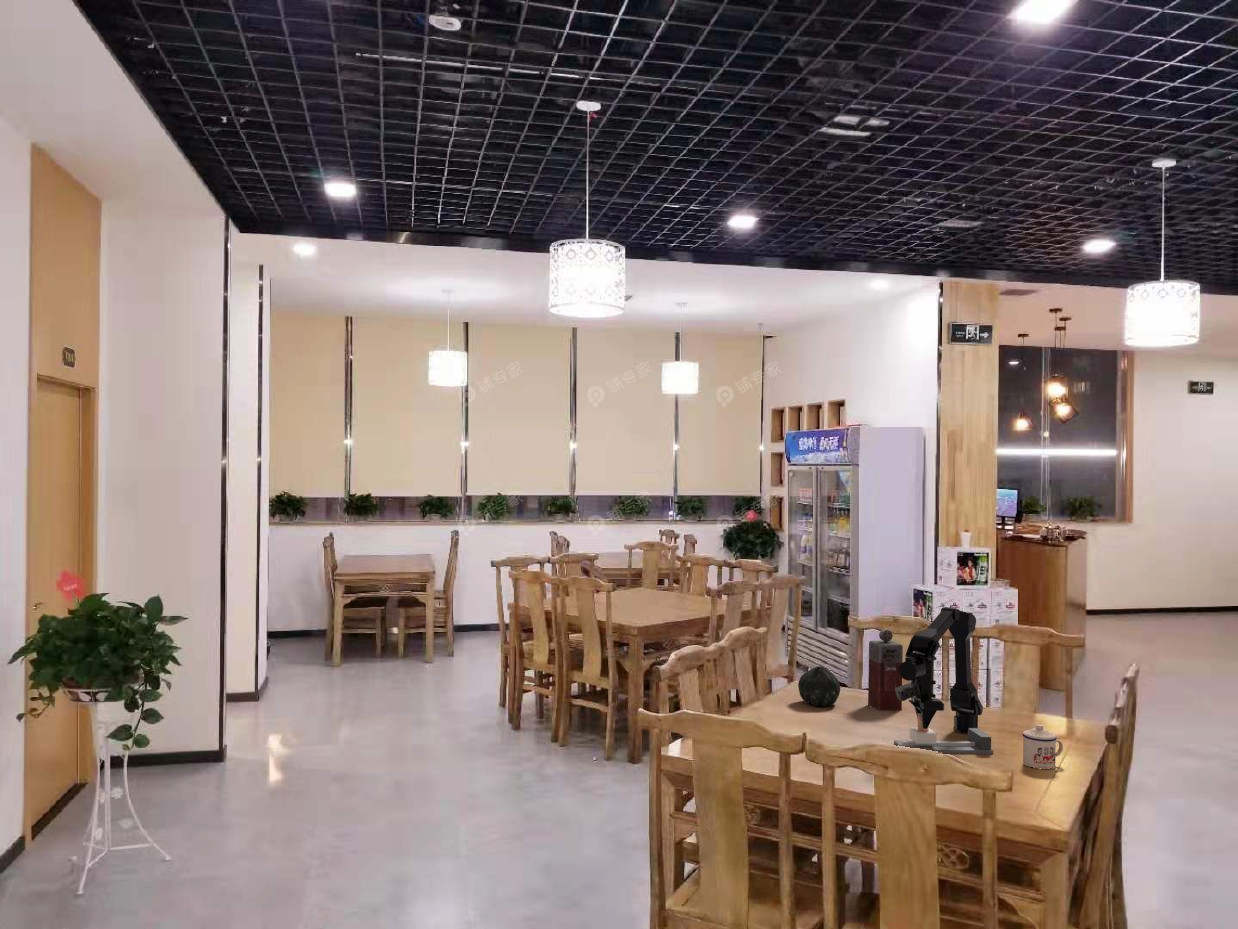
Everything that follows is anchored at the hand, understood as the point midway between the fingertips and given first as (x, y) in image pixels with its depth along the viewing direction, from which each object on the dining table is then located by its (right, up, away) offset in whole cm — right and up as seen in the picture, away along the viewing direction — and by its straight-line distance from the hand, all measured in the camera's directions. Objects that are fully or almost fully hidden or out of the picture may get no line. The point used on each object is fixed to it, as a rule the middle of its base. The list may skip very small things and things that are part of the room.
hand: (923, 727), depth 290 cm
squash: (-20, -7, +54) cm, 58 cm away
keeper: (0, -4, 0) cm, 4 cm away
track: (+6, -7, 0) cm, 9 cm away
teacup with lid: (+30, -7, -15) cm, 34 cm away
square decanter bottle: (+3, -7, +50) cm, 51 cm away
